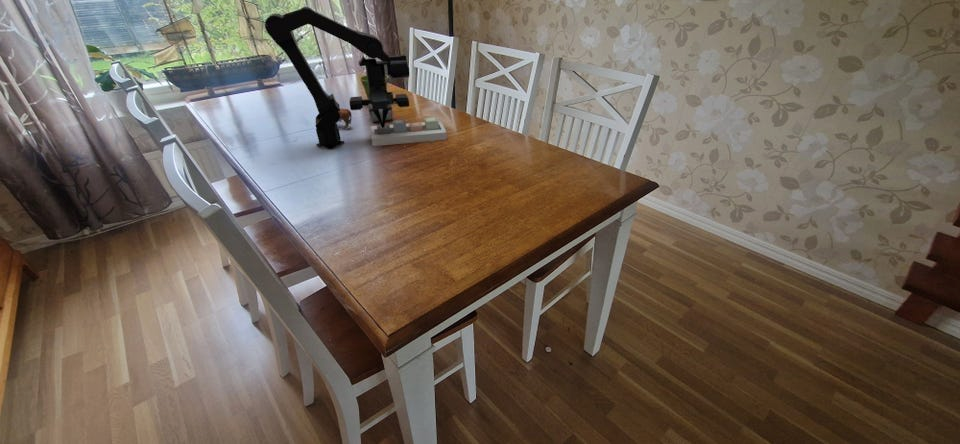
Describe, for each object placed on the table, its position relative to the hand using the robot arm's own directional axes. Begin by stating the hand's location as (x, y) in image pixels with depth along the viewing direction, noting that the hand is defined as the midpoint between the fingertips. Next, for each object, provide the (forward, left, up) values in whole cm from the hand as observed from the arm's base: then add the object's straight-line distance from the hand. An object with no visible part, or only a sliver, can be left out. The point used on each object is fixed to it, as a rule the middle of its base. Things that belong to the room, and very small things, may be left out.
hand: (383, 127), depth 128 cm
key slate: (+4, -4, -2) cm, 6 cm away
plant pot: (+30, +27, -4) cm, 41 cm away
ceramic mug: (+15, +14, -4) cm, 21 cm away
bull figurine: (+1, +23, -4) cm, 23 cm away
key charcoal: (0, 0, -3) cm, 3 cm away
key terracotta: (+7, -9, -3) cm, 11 cm away
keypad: (+5, -6, -4) cm, 9 cm away
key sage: (+11, -13, -2) cm, 17 cm away
